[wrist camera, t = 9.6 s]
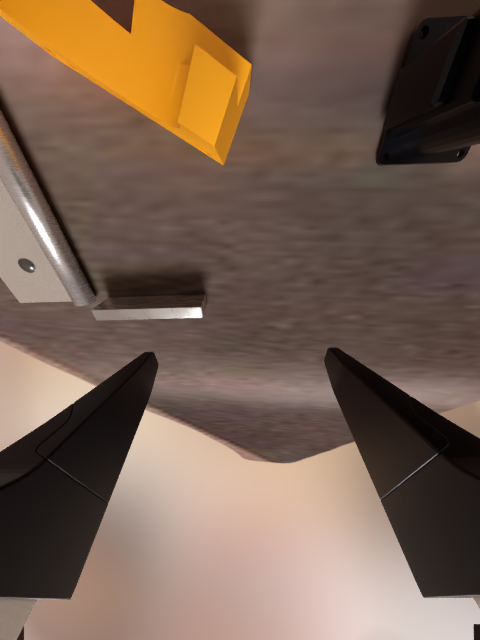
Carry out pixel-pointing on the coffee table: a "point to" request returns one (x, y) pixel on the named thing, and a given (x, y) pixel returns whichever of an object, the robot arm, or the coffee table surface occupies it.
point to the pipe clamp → (147, 63)
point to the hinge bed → (58, 251)
